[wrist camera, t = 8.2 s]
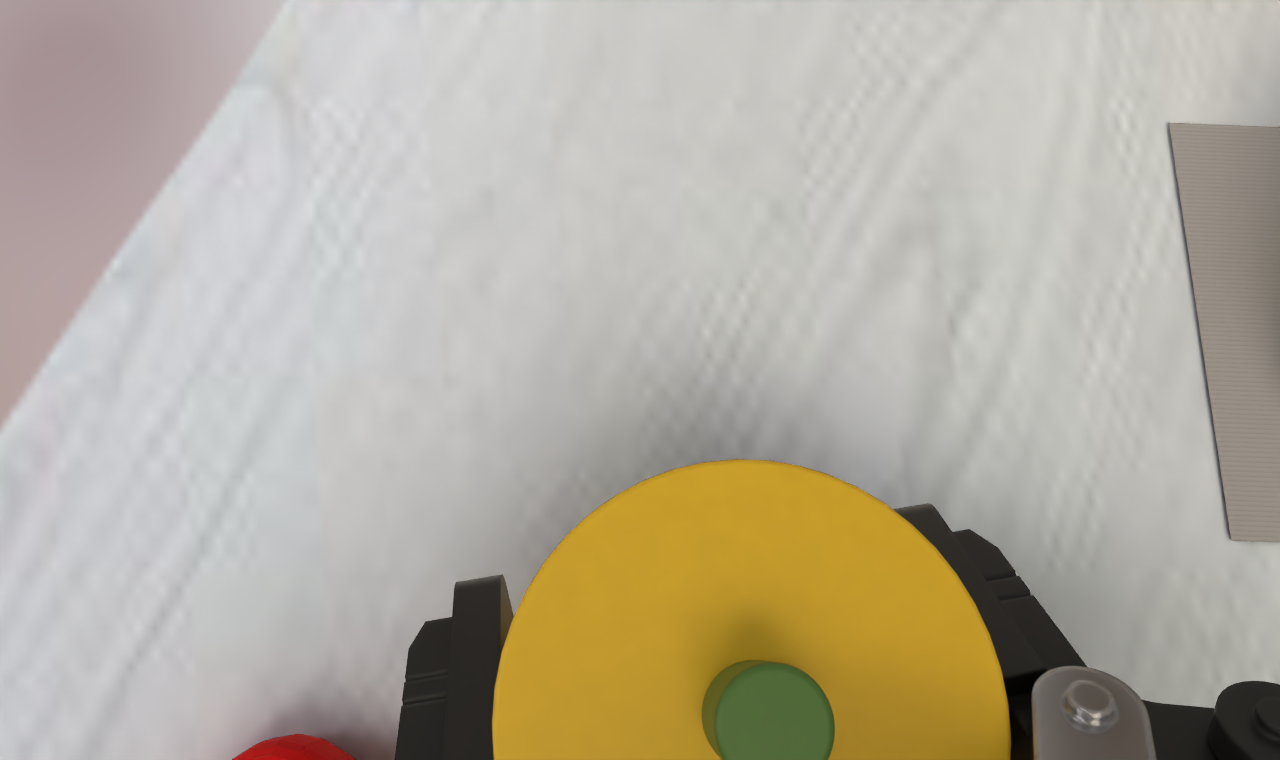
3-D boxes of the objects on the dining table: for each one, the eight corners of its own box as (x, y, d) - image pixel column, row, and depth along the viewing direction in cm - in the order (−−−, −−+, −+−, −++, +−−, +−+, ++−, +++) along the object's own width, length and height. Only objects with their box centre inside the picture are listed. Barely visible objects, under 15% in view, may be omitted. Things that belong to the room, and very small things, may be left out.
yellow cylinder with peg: (569, 879, 17) (507, 1153, 8) (528, 560, 19) (436, 475, 9) (878, 820, 17) (1168, 1017, 8) (811, 513, 19) (988, 388, 10)
